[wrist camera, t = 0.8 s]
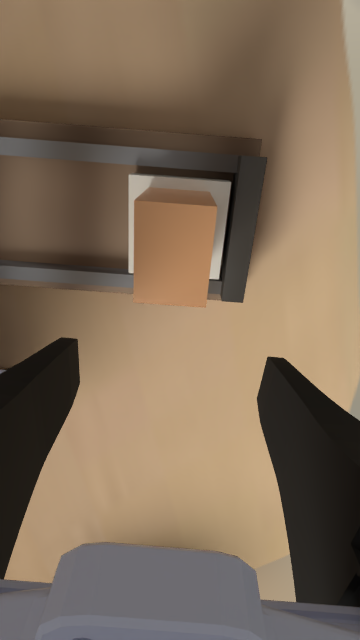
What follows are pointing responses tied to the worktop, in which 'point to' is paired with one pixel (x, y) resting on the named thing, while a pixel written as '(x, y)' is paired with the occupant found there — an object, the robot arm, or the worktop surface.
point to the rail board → (110, 201)
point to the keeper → (175, 237)
